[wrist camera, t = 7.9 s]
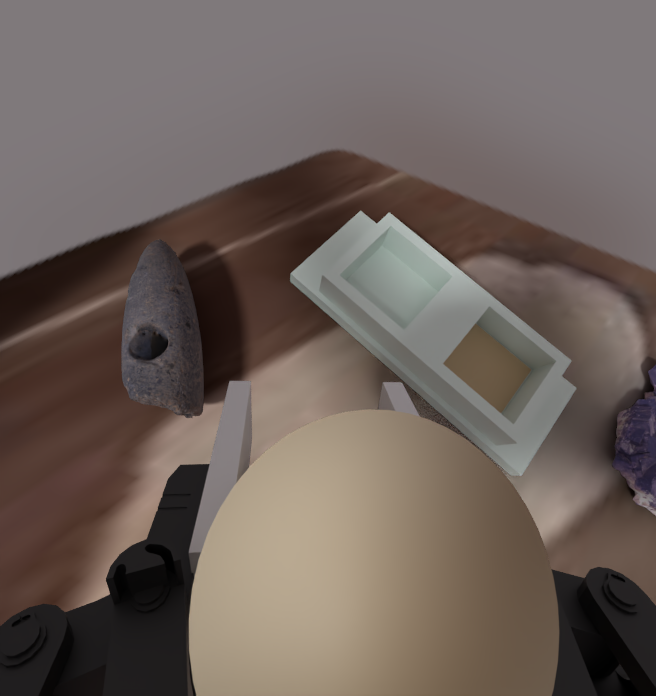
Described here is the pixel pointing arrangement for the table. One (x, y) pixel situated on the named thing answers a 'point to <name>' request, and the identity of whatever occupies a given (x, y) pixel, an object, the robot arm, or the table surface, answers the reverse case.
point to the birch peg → (373, 571)
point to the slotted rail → (441, 335)
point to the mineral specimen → (639, 447)
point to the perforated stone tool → (162, 335)
